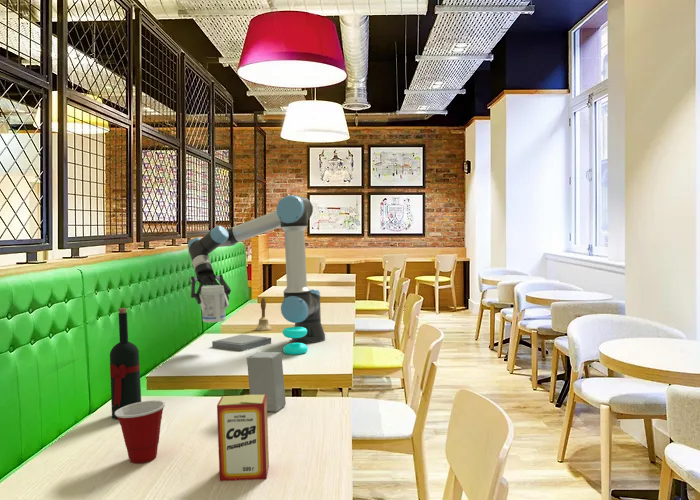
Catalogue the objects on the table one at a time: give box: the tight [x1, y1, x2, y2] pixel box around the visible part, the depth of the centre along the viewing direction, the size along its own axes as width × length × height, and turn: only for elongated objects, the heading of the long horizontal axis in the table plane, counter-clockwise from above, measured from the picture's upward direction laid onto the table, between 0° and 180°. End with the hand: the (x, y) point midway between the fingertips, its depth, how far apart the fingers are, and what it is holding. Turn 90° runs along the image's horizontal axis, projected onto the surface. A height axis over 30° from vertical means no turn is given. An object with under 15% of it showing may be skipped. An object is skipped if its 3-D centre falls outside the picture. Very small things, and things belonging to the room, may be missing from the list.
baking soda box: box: [216, 394, 270, 482], centre depth 125 cm, size 10×6×16 cm
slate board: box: [211, 334, 272, 352], centre depth 263 cm, size 18×18×3 cm
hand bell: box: [255, 297, 273, 332], centre depth 303 cm, size 8×8×16 cm
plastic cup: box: [115, 400, 166, 464], centre depth 135 cm, size 11×11×12 cm
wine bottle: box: [109, 307, 142, 421], centre depth 165 cm, size 8×10×30 cm
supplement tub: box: [200, 284, 227, 323], centre depth 252 cm, size 10×10×15 cm
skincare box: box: [246, 351, 287, 413], centre depth 170 cm, size 8×7×16 cm
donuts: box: [282, 326, 309, 356], centre depth 245 cm, size 10×10×10 cm
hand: (215, 307), depth 249 cm, fingers closed on supplement tub, 9 cm apart
